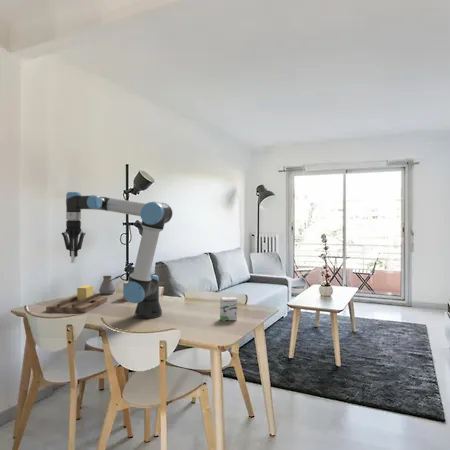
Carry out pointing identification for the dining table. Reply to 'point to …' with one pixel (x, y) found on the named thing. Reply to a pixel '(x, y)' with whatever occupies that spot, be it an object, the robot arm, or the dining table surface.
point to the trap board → (77, 304)
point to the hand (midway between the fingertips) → (73, 262)
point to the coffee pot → (108, 285)
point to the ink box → (228, 308)
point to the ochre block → (84, 292)
